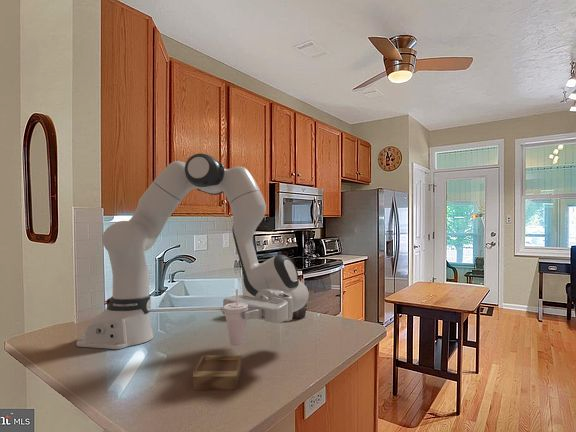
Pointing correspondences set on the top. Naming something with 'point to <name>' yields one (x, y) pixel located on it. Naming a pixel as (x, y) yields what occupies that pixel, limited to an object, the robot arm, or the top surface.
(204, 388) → the wooden tray
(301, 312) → the cupcake
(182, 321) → the top surface
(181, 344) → the top surface
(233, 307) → the smoothie
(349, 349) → the top surface
